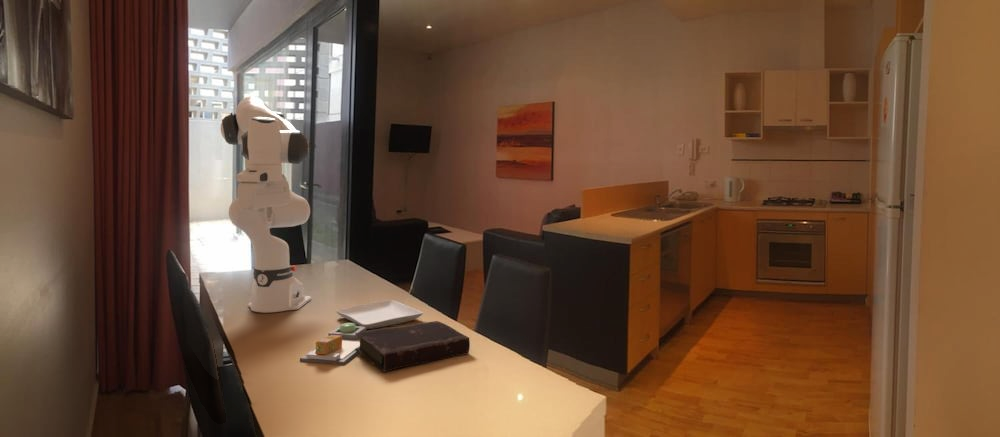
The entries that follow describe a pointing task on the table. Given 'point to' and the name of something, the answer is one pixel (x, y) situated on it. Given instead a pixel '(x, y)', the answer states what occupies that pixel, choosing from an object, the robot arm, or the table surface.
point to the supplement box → (328, 344)
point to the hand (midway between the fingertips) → (266, 223)
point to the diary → (411, 344)
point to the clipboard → (334, 354)
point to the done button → (347, 328)
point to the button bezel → (348, 335)
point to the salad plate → (379, 314)
